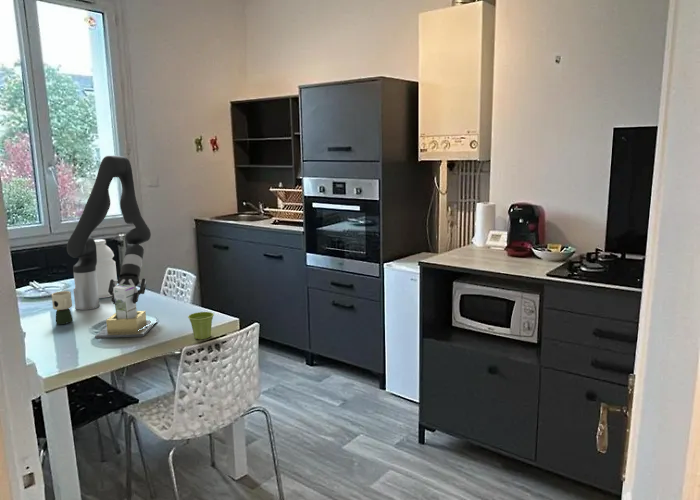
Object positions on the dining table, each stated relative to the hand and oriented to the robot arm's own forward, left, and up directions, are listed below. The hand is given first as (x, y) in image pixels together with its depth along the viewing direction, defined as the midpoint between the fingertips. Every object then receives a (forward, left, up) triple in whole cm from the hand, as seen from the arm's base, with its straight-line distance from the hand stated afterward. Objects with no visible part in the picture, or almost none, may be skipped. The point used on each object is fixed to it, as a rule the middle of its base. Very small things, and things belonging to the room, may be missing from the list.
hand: (124, 302), depth 211 cm
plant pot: (+32, -11, -12) cm, 36 cm away
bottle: (-32, +60, -12) cm, 69 cm away
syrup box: (0, +2, -8) cm, 8 cm away
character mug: (-30, +13, -12) cm, 35 cm away
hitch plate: (0, +1, -12) cm, 12 cm away
